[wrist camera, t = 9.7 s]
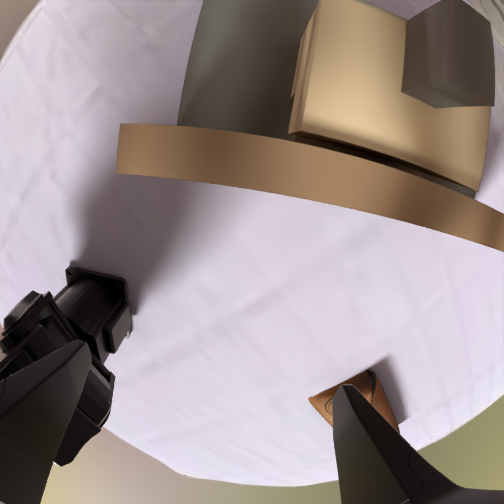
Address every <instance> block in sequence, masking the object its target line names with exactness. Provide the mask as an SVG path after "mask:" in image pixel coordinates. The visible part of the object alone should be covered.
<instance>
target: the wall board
mask: <svg viewBox="0 0 504 504" xmlns="http://www.w3.org/2000/svg"><path fill="white" fill-rule="evenodd" d="M318 2H319V0H204V1H203V5H202V8H201V12H200V15H199V19H198V23H197V27H196V31H195V35H194V39H193V43H192V47H191V52H190V56H189V61H188V66H187V70H186V75H185V81H184V86H183V91H182V97H181V103H180V109H179V115H178V121H177V126H173V125H155V124H120V131H119V140H118V150H117V162H116V173H120V174H132V175H143V176H153V177H163V178H172V179H180V180H189V181H197V182H204V183H212V184H219V185H226V186H232V187H239V188H245V189H252V190H258V191H264V192H270V193H275V194H281V195H286V196H292V197H297V198H302V199H308V200H313V201H318V202H322V203H327V204H332V205H337V206H341V207H346V208H350V209H355V210H359V211H363V212H368V213H372V214H376V215H380V216H384V217H388V218H392V219H396V220H400V221H404V222H408V223H411V224H415V225H419V226H422V227H426V228H430V229H433V230H437V231H440V232H443V233H447V234H450V235H454V236H457V237H460V238H463V239H466V240H470V241H473V242H476V243H479V244H482V245H485V246H488V247H491V248H494V249H497V250H500V251H502V252H504V214H503V213H501V212H499V211H497V210H495V209H493V208H491V207H489V206H487V205H485V204H483V203H481V202H479V201H476V200H474V198H475V194H476V191H474V190H472V189H469V188H466V187H463V186H460V185H457V184H455V183H452V182H448V181H445V180H442V179H439V178H436V177H433V176H430V175H427V174H425V173H422V172H420V171H417V170H414V169H412V168H409V167H406V166H403V165H400V164H398V163H395V162H392V161H389V160H386V159H383V158H380V157H376V156H373V155H370V154H367V153H363V152H360V151H356V150H353V149H349V148H346V147H342V146H338V145H334V144H331V143H327V142H322V141H318V140H314V139H310V138H305V137H301V136H296V135H291V134H288V130H289V124H290V119H291V113H292V108H293V102H294V99H291V94H292V88H293V82H294V77H295V71H296V65H297V60H298V54H299V48H300V42H301V39H302V36H303V34H304V32H305V30H306V28H307V26H308V23H309V21H310V19H311V17H312V15H313V13H314V11H315V9H316V7H317V4H318Z"/></svg>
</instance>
